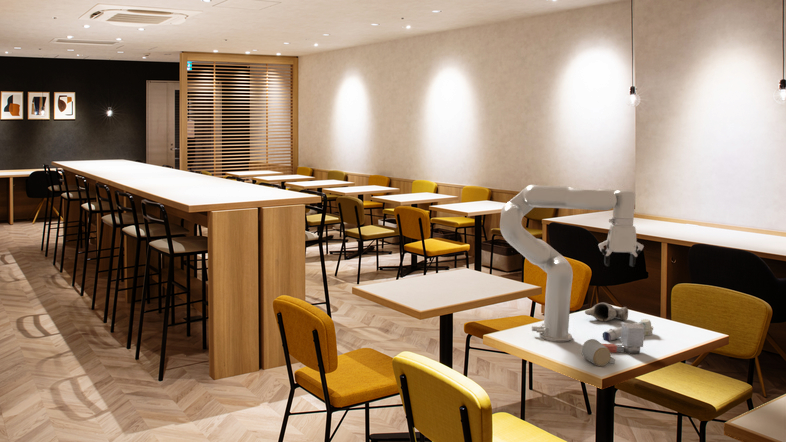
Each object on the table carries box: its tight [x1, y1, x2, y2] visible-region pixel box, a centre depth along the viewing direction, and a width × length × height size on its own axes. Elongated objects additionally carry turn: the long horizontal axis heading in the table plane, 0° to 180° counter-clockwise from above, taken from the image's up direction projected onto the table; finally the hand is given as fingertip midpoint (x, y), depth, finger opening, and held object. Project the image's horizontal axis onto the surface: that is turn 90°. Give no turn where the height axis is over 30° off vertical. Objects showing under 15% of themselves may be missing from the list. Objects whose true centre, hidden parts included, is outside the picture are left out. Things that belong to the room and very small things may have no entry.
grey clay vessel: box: [584, 302, 629, 322], centre depth 267 cm, size 16×9×15 cm
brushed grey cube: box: [620, 322, 645, 348], centre depth 225 cm, size 6×6×7 cm
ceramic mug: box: [581, 338, 616, 367], centre depth 213 cm, size 11×8×8 cm
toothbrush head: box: [602, 318, 654, 342], centre depth 244 cm, size 5×7×25 cm
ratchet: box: [601, 342, 641, 356], centre depth 226 cm, size 14×6×8 cm, turn 91°
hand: (619, 266), depth 234 cm, fingers open, 9 cm apart
